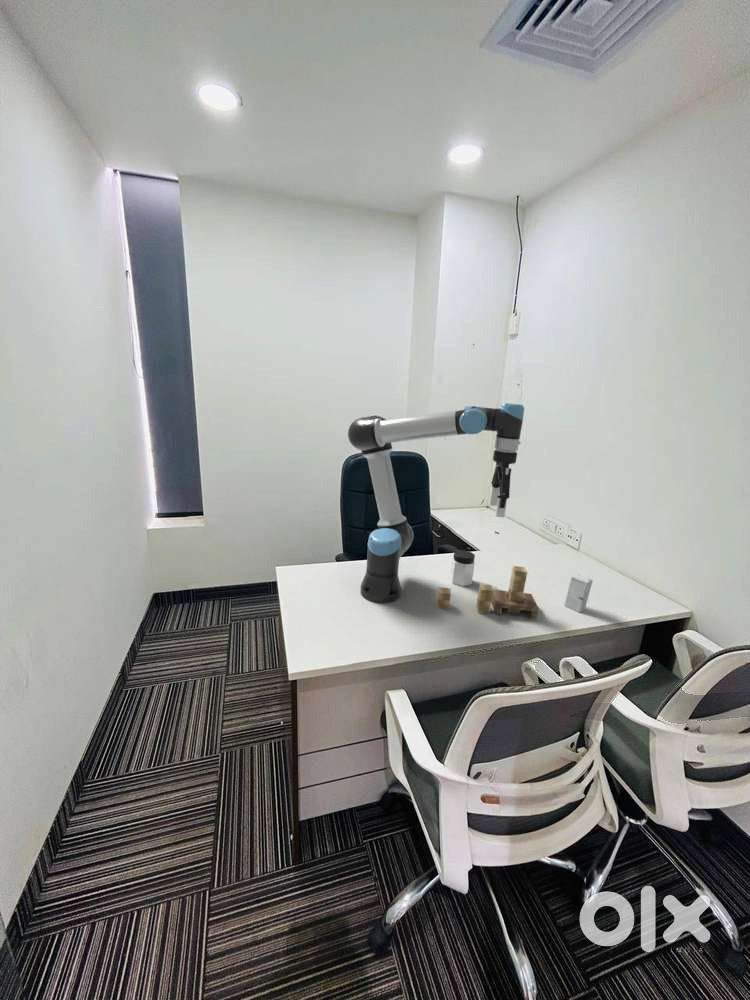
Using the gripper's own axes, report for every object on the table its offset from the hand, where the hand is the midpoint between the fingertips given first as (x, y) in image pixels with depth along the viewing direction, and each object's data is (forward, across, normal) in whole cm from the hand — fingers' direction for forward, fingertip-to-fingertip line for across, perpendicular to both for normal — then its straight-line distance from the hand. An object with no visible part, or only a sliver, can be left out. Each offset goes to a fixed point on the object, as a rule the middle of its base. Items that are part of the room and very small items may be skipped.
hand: (496, 510), depth 145 cm
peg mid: (+35, -8, +1) cm, 36 cm away
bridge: (+35, -5, -10) cm, 36 cm away
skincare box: (+35, +2, -34) cm, 49 cm away
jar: (+35, +13, +7) cm, 38 cm away
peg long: (+35, -5, -10) cm, 36 cm away
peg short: (+35, -8, +15) cm, 39 cm away
